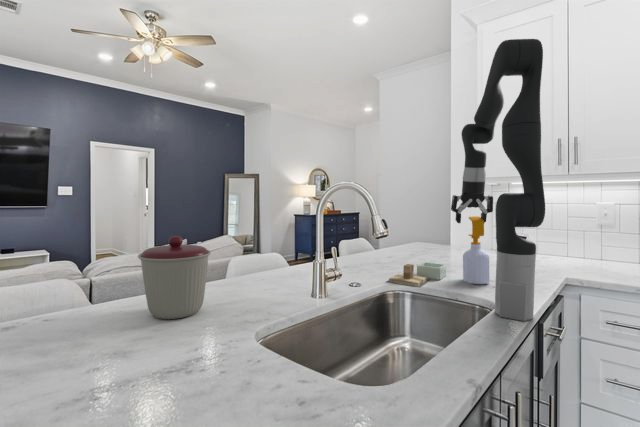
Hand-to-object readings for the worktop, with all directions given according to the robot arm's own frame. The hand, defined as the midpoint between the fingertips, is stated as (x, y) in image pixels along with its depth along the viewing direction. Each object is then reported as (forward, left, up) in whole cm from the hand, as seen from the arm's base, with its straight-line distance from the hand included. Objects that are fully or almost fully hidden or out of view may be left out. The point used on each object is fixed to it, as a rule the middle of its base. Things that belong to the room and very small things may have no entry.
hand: (470, 223), depth 129 cm
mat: (-13, +19, -22) cm, 32 cm away
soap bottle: (+1, -2, -22) cm, 22 cm away
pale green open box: (-1, +14, -22) cm, 26 cm away
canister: (-83, +59, -23) cm, 105 cm away
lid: (-13, +19, -22) cm, 32 cm away
